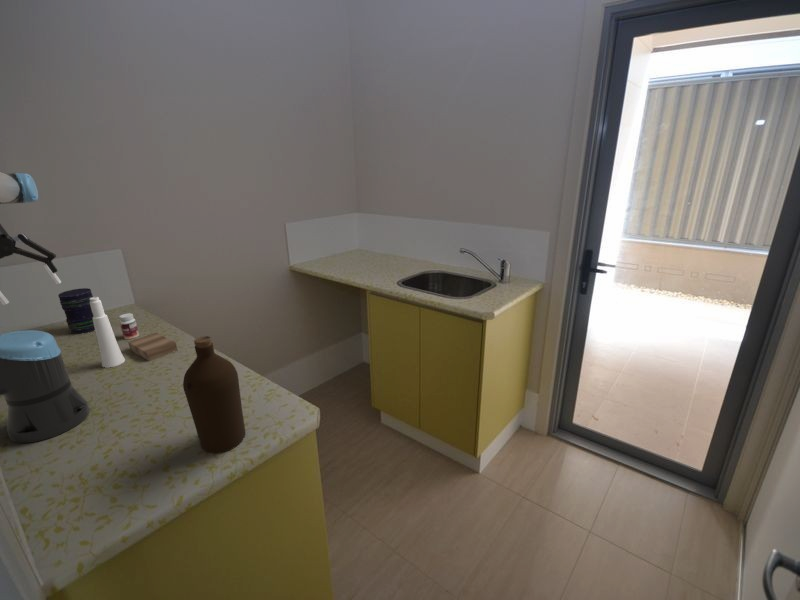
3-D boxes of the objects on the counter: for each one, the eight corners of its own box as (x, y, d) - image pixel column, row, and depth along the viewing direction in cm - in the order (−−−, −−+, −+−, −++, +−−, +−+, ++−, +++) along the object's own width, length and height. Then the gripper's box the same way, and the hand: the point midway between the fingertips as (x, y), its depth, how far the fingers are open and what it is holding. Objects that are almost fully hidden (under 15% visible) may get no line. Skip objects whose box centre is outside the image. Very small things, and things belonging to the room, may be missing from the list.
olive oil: (241, 453, 85) (220, 349, 76) (189, 457, 84) (163, 352, 75) (253, 422, 94) (236, 327, 86) (207, 426, 94) (186, 330, 85)
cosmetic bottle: (101, 363, 125) (80, 297, 118) (123, 356, 129) (105, 293, 121) (103, 370, 121) (81, 302, 113) (126, 363, 124) (107, 297, 117)
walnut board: (177, 350, 132) (175, 342, 131) (148, 361, 125) (146, 352, 124) (158, 340, 140) (156, 332, 139) (130, 350, 133) (128, 342, 132)
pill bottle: (120, 338, 142) (114, 317, 139) (132, 333, 147) (126, 312, 144) (130, 340, 141) (124, 318, 138) (142, 334, 145) (136, 313, 142)
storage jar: (101, 321, 158) (90, 286, 153) (103, 329, 151) (92, 292, 146) (69, 328, 152) (57, 292, 147) (70, 336, 145) (57, 298, 140)
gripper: (37, 209, 117) (82, 273, 125) (-68, 243, 107) (-13, 309, 116) (30, 210, 110) (77, 277, 119) (-83, 246, 101) (-22, 316, 110)
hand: (33, 293), depth 117 cm, fingers open, 13 cm apart
